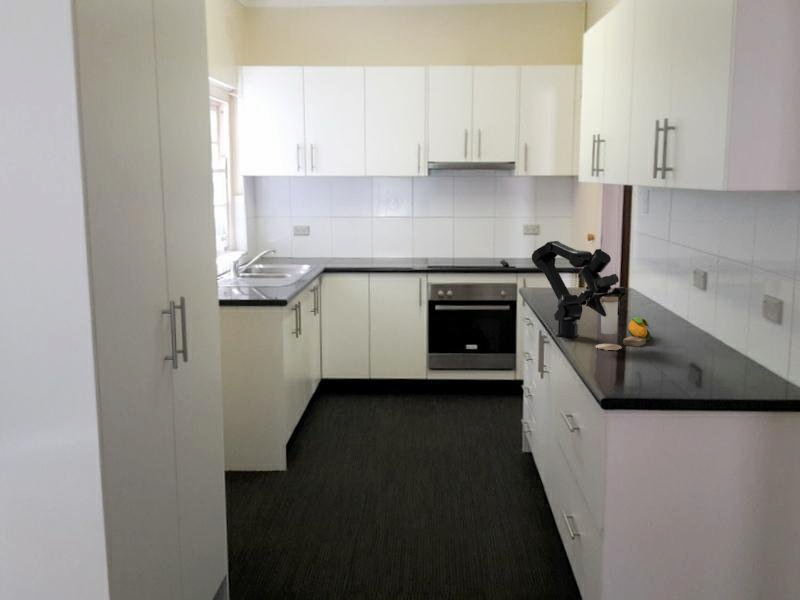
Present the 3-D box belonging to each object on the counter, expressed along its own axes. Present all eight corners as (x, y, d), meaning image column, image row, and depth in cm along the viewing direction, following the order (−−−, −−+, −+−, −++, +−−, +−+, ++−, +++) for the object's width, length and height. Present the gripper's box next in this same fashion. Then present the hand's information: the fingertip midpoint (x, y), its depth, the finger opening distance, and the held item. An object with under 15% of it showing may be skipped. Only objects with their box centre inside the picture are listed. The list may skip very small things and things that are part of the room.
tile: (623, 344, 302) (623, 339, 302) (629, 341, 307) (630, 336, 306) (639, 346, 298) (639, 341, 298) (645, 343, 303) (645, 338, 303)
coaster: (591, 348, 296) (591, 347, 296) (602, 344, 303) (602, 342, 303) (615, 351, 291) (615, 350, 291) (625, 347, 298) (625, 345, 298)
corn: (645, 313, 319) (654, 323, 300) (646, 333, 321) (654, 344, 301) (626, 315, 321) (633, 324, 301) (627, 334, 322) (633, 345, 302)
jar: (597, 333, 296) (598, 297, 294) (604, 330, 300) (605, 294, 298) (613, 334, 292) (614, 298, 290) (619, 332, 297) (620, 296, 295)
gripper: (582, 268, 292) (601, 304, 284) (624, 265, 299) (644, 299, 292) (568, 287, 300) (586, 322, 292) (610, 283, 308) (628, 317, 300)
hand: (611, 315), depth 294 cm, fingers closed on jar, 6 cm apart
